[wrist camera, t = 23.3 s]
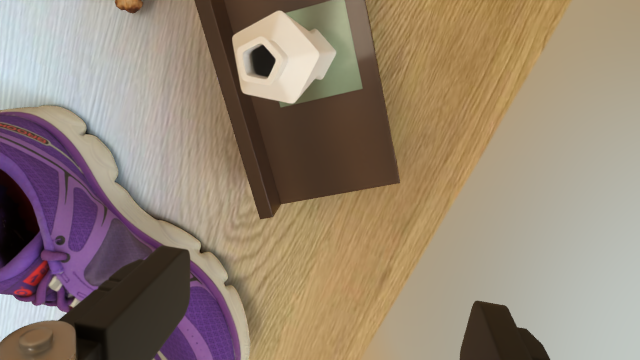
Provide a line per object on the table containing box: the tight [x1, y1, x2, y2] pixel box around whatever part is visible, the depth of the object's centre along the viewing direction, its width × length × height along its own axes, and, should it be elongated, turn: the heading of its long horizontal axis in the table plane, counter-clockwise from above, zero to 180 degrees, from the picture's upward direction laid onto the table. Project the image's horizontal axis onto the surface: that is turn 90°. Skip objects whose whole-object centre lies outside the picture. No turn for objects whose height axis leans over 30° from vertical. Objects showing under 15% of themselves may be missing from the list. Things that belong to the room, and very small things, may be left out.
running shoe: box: [0, 105, 250, 360], centre depth 39 cm, size 14×35×15 cm, turn 42°
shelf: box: [195, 0, 400, 219], centre depth 34 cm, size 12×18×7 cm, turn 13°
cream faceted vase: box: [232, 11, 336, 103], centre depth 25 cm, size 5×4×15 cm
